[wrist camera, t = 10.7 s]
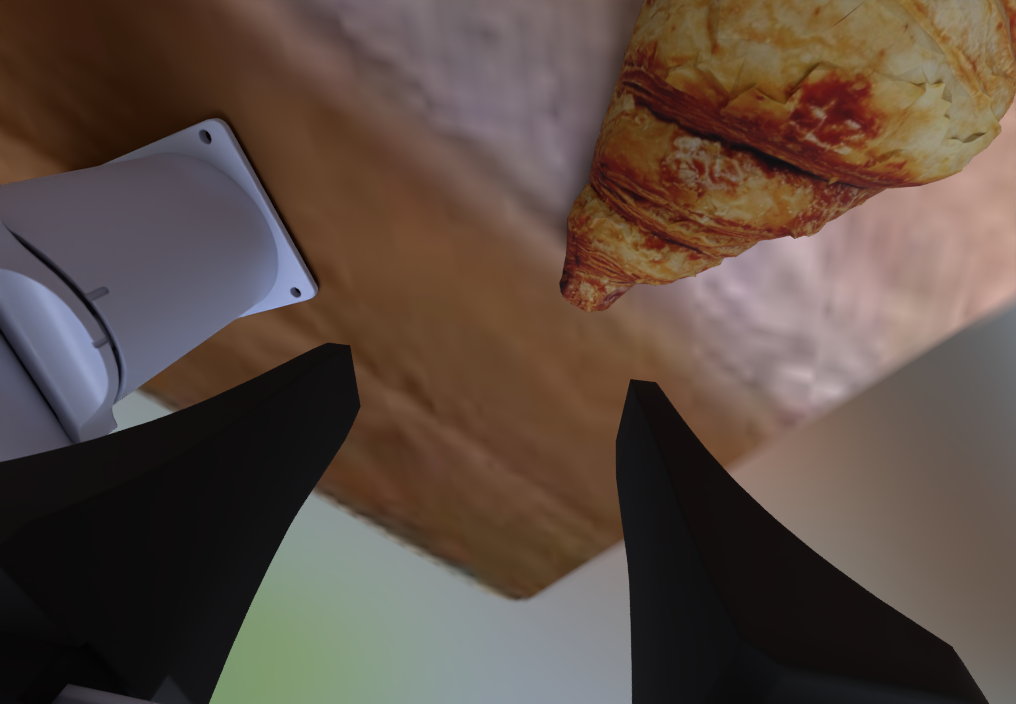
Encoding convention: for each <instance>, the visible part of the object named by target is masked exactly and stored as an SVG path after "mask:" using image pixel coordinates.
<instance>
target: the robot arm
mask: <svg viewBox="0 0 1016 704" xmlns="http://www.w3.org/2000/svg"><path fill="white" fill-rule="evenodd" d="M206 131H208V133H209V134H210V135H211V138H212V139H211V141H210V140H209V139H208V138H207V136H206ZM295 287H296V288H297V289H299V290H300V292H301V294H299V293H298V292H297V291H296V290H295ZM317 293H318V287H317V285H316V283H315V281H314V279H313V277H312V276H311V274H310V272H309V270H308V268H307V267H306V265H305V263H304V261H303V259H302V257H301V256H300V254H299V252H298V250H297V248H296V247H295V245H294V243H293V241H292V239H291V238H290V236H289V234H288V232H287V230H286V228H285V227H284V225H283V223H282V221H281V219H280V218H279V216H278V214H277V212H276V210H275V208H274V207H273V205H272V203H271V201H270V199H269V198H268V196H267V194H266V192H265V190H264V189H263V187H262V185H261V183H260V181H259V179H258V178H257V176H256V174H255V172H254V170H253V169H252V167H251V165H250V163H249V161H248V160H247V158H246V156H245V154H244V152H243V150H242V149H241V147H240V145H239V143H238V141H237V140H236V138H235V136H234V134H233V132H232V130H231V129H230V127H229V126H228V124H227V123H226V122H224V121H223V120H222V119H219V118H214V119H207V120H205V121H203V122H200V123H198V124H196V125H193V126H191V127H189V128H186V129H184V130H182V131H179V132H177V133H175V134H172V135H170V136H168V137H165V138H163V139H161V140H158V141H156V142H154V143H151V144H149V145H147V146H144V147H142V148H140V149H137V150H135V151H133V152H130V153H128V154H126V155H123V156H121V157H119V158H116V159H114V160H112V161H109V162H107V163H105V164H102V165H100V166H96V167H91V168H86V169H80V170H75V171H70V172H65V173H60V174H55V175H50V176H44V177H39V178H34V179H29V180H24V181H19V182H14V183H9V184H3V185H0V704H209V702H210V699H211V697H212V694H213V692H214V689H215V687H216V685H217V682H218V680H219V677H220V674H221V672H222V670H223V667H224V665H225V662H226V660H227V657H228V655H229V652H230V650H231V648H232V645H233V643H234V641H235V639H236V636H237V634H238V632H239V630H240V627H241V625H242V623H243V621H244V619H245V616H246V614H247V612H248V610H249V607H250V605H251V603H252V601H253V598H254V596H255V594H256V592H257V590H258V588H259V586H260V584H261V582H262V580H263V578H264V576H265V573H266V571H267V569H268V567H269V565H270V563H271V561H272V559H273V557H274V555H275V553H276V551H277V550H278V548H279V546H280V544H281V542H282V540H283V538H284V536H285V534H286V532H287V530H288V528H289V526H290V525H291V523H292V521H293V519H294V518H295V516H296V515H297V513H298V511H299V510H300V508H301V506H302V505H303V503H304V502H305V500H306V499H307V497H308V496H309V494H310V493H311V491H312V490H313V488H314V487H315V485H316V484H317V482H318V481H319V479H320V478H321V476H322V475H323V473H324V472H325V470H326V469H327V467H328V466H329V464H330V463H331V461H332V459H333V458H334V456H335V455H336V453H337V452H338V450H339V449H340V447H341V445H342V444H343V442H344V441H345V439H346V437H347V435H348V433H349V431H350V429H351V427H352V425H353V422H354V420H355V418H356V416H357V413H358V411H359V409H360V401H359V395H358V389H357V383H356V377H355V372H354V366H353V360H352V354H351V348H350V345H343V344H335V343H326V344H324V345H321V346H319V347H316V348H314V349H312V350H310V351H308V352H306V353H304V354H302V355H300V356H298V357H296V358H294V359H292V360H290V361H288V362H286V363H284V364H282V365H280V366H278V367H276V368H274V369H272V370H270V371H268V372H266V373H264V374H262V375H260V376H258V377H256V378H253V379H251V380H249V381H247V382H245V383H243V384H240V385H238V386H236V387H234V388H232V389H230V390H227V391H225V392H223V393H221V394H219V395H216V396H214V397H212V398H210V399H207V400H205V401H203V402H200V403H198V404H195V405H193V406H190V407H188V408H185V409H183V410H180V411H177V412H175V413H172V414H169V415H167V416H164V417H161V418H158V419H156V420H153V421H150V422H147V423H144V424H141V425H137V426H134V427H131V428H128V429H125V430H121V431H118V432H115V433H112V434H109V433H110V432H111V431H113V430H114V429H115V428H117V423H116V421H115V419H114V417H113V412H112V406H113V405H114V404H116V403H117V402H118V401H120V400H121V399H123V398H124V397H125V396H127V395H128V394H130V393H131V392H133V391H134V390H135V389H137V388H138V387H140V386H141V385H143V384H144V383H145V382H147V381H148V380H150V379H151V378H152V377H154V376H155V375H157V374H158V373H160V372H161V371H162V370H164V369H165V368H167V367H168V366H169V365H171V364H172V363H174V362H175V361H177V360H178V359H179V358H181V357H182V356H184V355H185V354H187V353H188V352H189V351H191V350H192V349H194V348H195V347H196V346H198V345H199V344H201V343H202V342H204V341H205V340H206V339H208V338H209V337H211V336H212V335H213V334H215V333H216V332H218V331H219V330H221V329H222V328H223V327H225V326H226V325H228V324H229V323H230V322H232V321H233V320H235V319H236V318H239V317H243V316H246V315H250V314H254V313H258V312H262V311H266V310H270V309H274V308H277V307H281V306H285V305H289V304H293V303H297V302H301V301H304V300H308V299H311V298H313V297H314V296H315V295H316V294H317ZM107 434H109V435H107ZM616 480H617V488H618V496H619V504H620V511H621V519H622V526H623V533H624V541H625V548H626V555H627V562H628V574H629V588H630V589H629V590H630V617H631V659H632V704H989V703H988V701H987V700H986V698H985V696H984V695H983V693H982V692H981V690H980V688H979V687H978V685H977V684H976V682H975V681H974V679H973V678H972V676H971V675H970V673H969V671H968V670H967V668H966V666H965V665H964V663H963V662H962V660H961V659H960V657H959V656H958V655H957V653H956V652H955V650H954V649H953V647H952V646H950V645H949V644H947V643H946V642H944V641H943V640H941V639H940V638H938V637H936V636H935V635H934V634H932V633H930V632H929V631H927V630H926V629H924V628H923V627H921V626H920V625H918V624H916V623H915V622H914V621H912V620H911V619H909V618H907V617H906V616H905V615H903V614H902V613H900V612H898V611H897V610H895V609H894V608H892V607H891V606H889V605H888V604H886V603H885V602H883V601H882V600H880V599H879V598H877V597H875V596H874V595H873V594H872V593H870V592H869V591H867V590H866V589H865V588H863V587H862V586H860V585H859V584H858V583H856V582H855V581H853V580H852V579H851V578H849V577H848V576H847V575H845V574H844V573H843V572H841V571H839V570H838V569H837V568H836V567H834V566H833V565H832V564H830V563H829V562H828V561H827V560H825V559H824V558H823V557H821V556H820V555H819V554H817V553H816V552H815V551H813V550H812V549H811V548H810V547H809V546H807V545H806V544H805V543H804V542H803V541H801V540H800V539H799V538H798V537H796V536H795V535H794V534H793V533H792V532H790V531H789V530H788V529H787V528H786V527H784V526H783V525H782V524H781V523H780V522H778V521H777V520H776V519H775V518H774V517H773V516H772V515H771V514H769V513H768V512H767V511H766V510H765V509H764V508H763V507H762V506H761V505H760V504H759V503H758V502H757V501H756V500H754V499H753V498H752V497H751V496H750V495H749V494H748V493H747V492H746V491H745V490H744V489H743V488H742V487H741V486H740V485H739V484H738V483H737V482H736V481H735V480H734V479H733V478H732V477H731V476H730V475H729V474H728V473H727V471H726V470H725V469H724V468H723V467H722V466H721V465H720V464H719V463H718V461H717V460H716V459H715V458H714V457H713V456H712V455H711V454H710V453H709V451H708V450H707V449H706V448H705V447H704V445H703V444H702V443H701V442H700V440H699V439H698V438H697V437H696V435H695V434H694V433H693V432H692V430H691V429H690V428H689V427H688V425H687V424H686V423H685V421H684V420H683V419H682V417H681V416H680V414H679V413H678V412H677V410H676V409H675V408H674V406H673V405H672V404H671V402H670V401H669V399H668V398H667V397H666V395H665V394H664V392H663V391H662V390H661V388H660V387H659V386H658V384H657V383H656V382H649V381H641V380H633V379H630V383H629V388H628V392H627V396H626V400H625V405H624V409H623V413H622V417H621V422H620V426H619V430H618V434H617V439H616Z"/></svg>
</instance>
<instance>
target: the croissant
mask: <svg viewBox="0 0 1016 704" xmlns="http://www.w3.org/2000/svg"><path fill="white" fill-rule="evenodd" d="M1015 93H1016V0H645V1H644V3H643V5H642V8H641V11H640V14H639V17H638V19H637V22H636V25H635V28H634V30H633V33H632V36H631V39H630V41H629V44H628V47H627V49H626V52H625V55H624V59H623V63H622V68H621V72H620V75H619V78H618V81H617V84H616V87H615V90H614V93H613V96H612V98H611V101H610V104H609V107H608V110H607V113H606V115H605V117H604V120H603V122H602V125H601V130H600V134H599V137H598V139H597V142H596V145H595V151H594V157H593V162H592V166H591V171H590V176H589V178H590V184H586V185H585V187H584V189H583V191H582V192H581V194H580V195H579V196H578V197H577V198H576V200H575V201H574V204H573V206H572V208H571V211H570V213H569V216H568V218H567V249H566V257H565V262H564V268H563V275H562V278H561V280H560V283H559V284H560V291H561V293H562V295H563V297H564V300H566V301H567V302H569V303H571V304H573V305H575V306H577V307H579V308H581V309H582V310H584V311H586V312H593V311H598V310H599V311H603V310H605V309H608V308H609V307H610V306H611V305H612V304H613V303H614V302H615V301H616V300H617V299H618V298H619V297H620V296H622V295H623V294H624V293H625V292H626V291H627V290H629V289H630V288H631V287H632V286H634V285H635V284H636V283H637V284H651V285H655V286H656V285H666V284H669V283H672V282H674V281H676V280H677V279H682V278H686V277H689V276H693V277H696V274H697V273H700V272H703V271H705V270H707V269H709V268H712V267H715V266H718V265H720V264H721V262H722V260H723V259H724V258H725V257H736V256H738V255H739V254H741V253H743V252H744V251H746V250H748V249H749V248H751V247H752V246H754V245H755V244H756V243H757V242H758V241H761V240H771V239H776V238H781V237H785V236H792V237H793V238H794V239H796V238H798V237H801V236H804V235H805V236H808V237H809V236H811V235H813V234H815V233H817V232H819V231H820V230H821V228H822V227H823V226H824V225H825V224H826V222H829V221H831V220H834V219H836V218H837V217H839V216H841V215H842V214H844V213H845V212H847V211H848V210H850V209H851V208H853V207H856V206H859V205H861V204H863V203H864V202H865V201H866V200H867V199H869V198H870V197H872V196H874V195H876V194H878V193H880V192H881V191H883V190H885V189H886V188H901V187H913V186H921V185H924V184H928V183H931V182H935V181H938V180H941V179H944V178H947V177H949V176H951V175H954V174H956V173H958V172H961V171H962V170H963V168H964V167H965V166H966V165H967V164H968V163H969V161H970V160H971V159H972V158H973V157H974V156H975V155H977V154H978V153H980V152H981V151H983V150H984V149H986V148H987V147H988V146H989V145H990V143H991V142H992V141H993V140H994V139H995V138H996V137H997V136H998V134H999V133H1000V132H1001V126H1000V124H999V123H998V122H999V121H1000V120H1001V118H1002V117H1003V116H1004V115H1005V113H1006V112H1007V110H1008V109H1009V107H1010V105H1011V104H1012V102H1013V100H1014V96H1015Z"/></svg>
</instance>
